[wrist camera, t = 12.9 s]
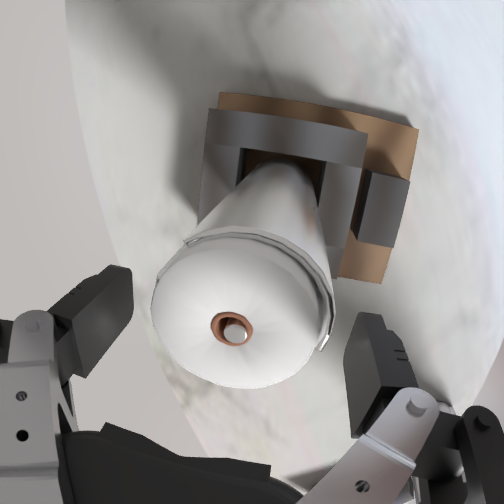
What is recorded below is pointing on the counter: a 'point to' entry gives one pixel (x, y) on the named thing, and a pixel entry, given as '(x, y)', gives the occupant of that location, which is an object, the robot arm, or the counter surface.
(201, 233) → the paper towel roll
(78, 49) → the counter surface
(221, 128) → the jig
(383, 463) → the robot arm
